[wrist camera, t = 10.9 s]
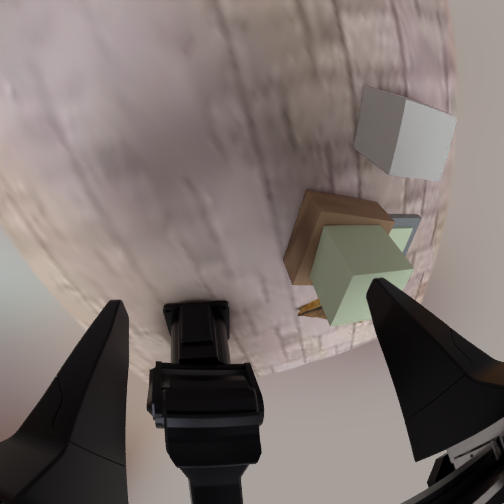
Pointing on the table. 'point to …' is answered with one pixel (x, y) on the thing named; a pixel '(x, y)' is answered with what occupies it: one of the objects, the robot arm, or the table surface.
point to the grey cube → (403, 135)
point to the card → (404, 230)
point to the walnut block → (326, 214)
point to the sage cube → (354, 269)
